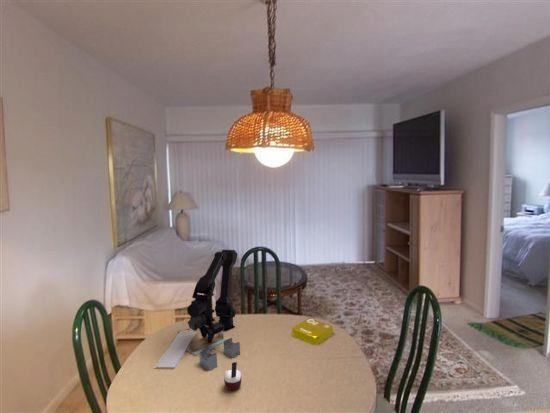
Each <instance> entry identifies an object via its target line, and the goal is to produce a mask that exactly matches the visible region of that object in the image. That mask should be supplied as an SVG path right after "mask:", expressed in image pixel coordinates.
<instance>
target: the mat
mask: <svg viewBox="0 0 550 413" xmlns="http://www.w3.org/2000/svg"><path fill="white" fill-rule="evenodd" d="M225 340H227V339H226V338H224V337H223V340H221V341H218V342H216V343H214V344H212V345H209V346H207V347H205V348H203V349H201V350H198V351H196V352H194V353H193V352H192V351H190V347H188V348H187V350H186V352H188V353H190V354H191V353H192V355H194V356H195V357H197V356H200V352H201V351H204V350H206V349H209V350H210V351H211V350H212V349H214V348H216V347H218V346H220V344H221V345H222V343H223V344H224V341H225Z"/></svg>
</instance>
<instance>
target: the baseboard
mask: <svg viewBox="0 0 550 413" xmlns="http://www.w3.org/2000/svg"><path fill="white" fill-rule="evenodd" d="M177 333H178V334H177V336H176V337H175V338H174V340H173V341H172V342H171V343H170V345H169V346H168V348H167V350H166V351H165V352H164V354H162V356H161V358H160V359H159V361H158V362H157V363H156V364H155V365H154V367H153V369H154V370H175V369H176V368H177V366H178V365H179V362H180V361H181V360H180V359H183V356H184V355H185V353H186V352H187V349H188V348H190V343H192V342H193V340H194V339H195V338H196V335H197V331H191V330H190V328H185V331H181V332H180V330H178V331H177ZM185 351H186V352H185ZM177 364H178V365H177Z"/></svg>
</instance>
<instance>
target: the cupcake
mask: <svg viewBox="0 0 550 413" xmlns="http://www.w3.org/2000/svg"><path fill="white" fill-rule="evenodd" d="M237 366H238V362H237V361H234V362H232V363H231V369H228V370H225V371H224V374H223V376H224V379H223V380H224V382H223V383H224V385H225V387H226V388H227V390H229V391H234V390H235V391H236V390H238V389H240V387H241V383H242V372H241V371H239V370H238V368H237Z"/></svg>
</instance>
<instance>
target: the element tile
mask: <svg viewBox="0 0 550 413" xmlns="http://www.w3.org/2000/svg"><path fill="white" fill-rule="evenodd" d="M333 330H334V327H333V325H331V324H328V323H325V322H323V321H320V320H316V319H313V318H306V319H305V320H303V321H300V322H298V323H297V324H296V325H294V326H292V329H291V334H292V335H291V336H292V338H294V339H297V340H300V341H303V342H305V343H308V344H311V345H313V346H319V345H320V344H322V343H323V342H324V341H326V340H328V339H329V338H330V337H332V336H333V335H334V334H333Z"/></svg>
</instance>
